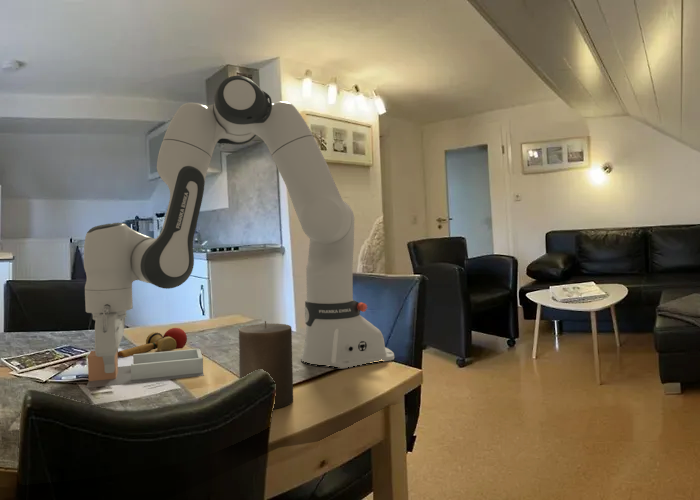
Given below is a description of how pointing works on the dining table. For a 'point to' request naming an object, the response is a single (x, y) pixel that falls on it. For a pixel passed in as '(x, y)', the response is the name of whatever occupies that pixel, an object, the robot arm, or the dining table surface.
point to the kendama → (159, 342)
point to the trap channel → (157, 368)
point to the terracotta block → (100, 368)
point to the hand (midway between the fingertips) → (111, 368)
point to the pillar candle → (269, 356)
